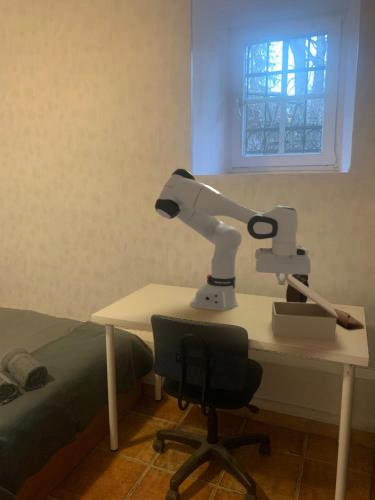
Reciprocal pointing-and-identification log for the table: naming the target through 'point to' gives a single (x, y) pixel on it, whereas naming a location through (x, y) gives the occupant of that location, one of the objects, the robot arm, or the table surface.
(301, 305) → the carton
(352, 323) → the sunglasses case
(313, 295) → the carton flap
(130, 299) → the table surface
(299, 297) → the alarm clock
